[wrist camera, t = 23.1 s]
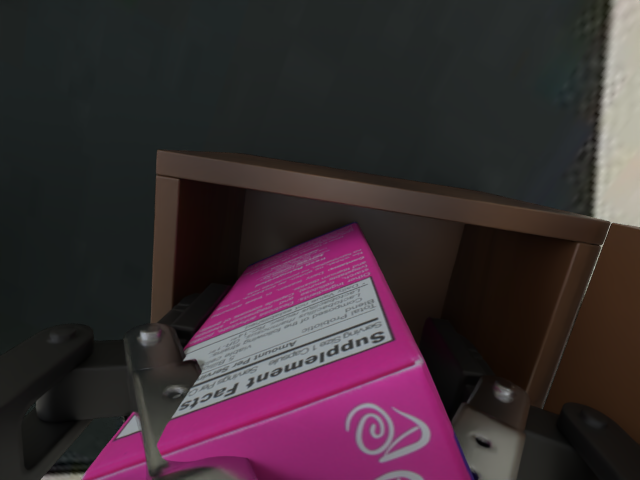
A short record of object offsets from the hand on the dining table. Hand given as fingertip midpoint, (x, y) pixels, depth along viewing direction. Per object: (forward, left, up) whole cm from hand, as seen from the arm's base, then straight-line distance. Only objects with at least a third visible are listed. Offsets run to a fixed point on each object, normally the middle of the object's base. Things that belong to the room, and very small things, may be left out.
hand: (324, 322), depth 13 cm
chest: (+1, -1, -9) cm, 9 cm away
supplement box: (0, 0, -3) cm, 3 cm away
